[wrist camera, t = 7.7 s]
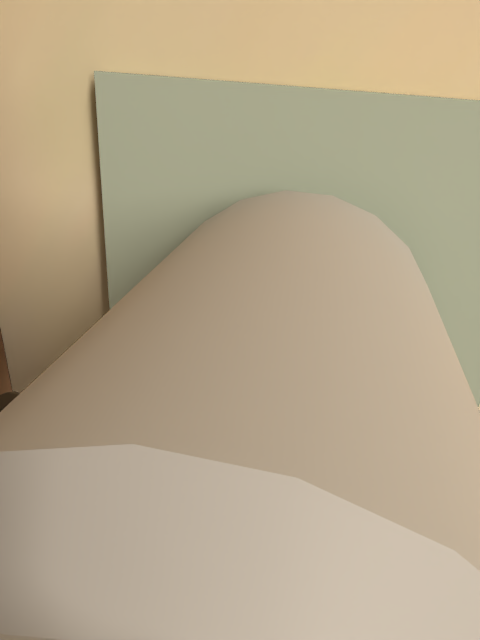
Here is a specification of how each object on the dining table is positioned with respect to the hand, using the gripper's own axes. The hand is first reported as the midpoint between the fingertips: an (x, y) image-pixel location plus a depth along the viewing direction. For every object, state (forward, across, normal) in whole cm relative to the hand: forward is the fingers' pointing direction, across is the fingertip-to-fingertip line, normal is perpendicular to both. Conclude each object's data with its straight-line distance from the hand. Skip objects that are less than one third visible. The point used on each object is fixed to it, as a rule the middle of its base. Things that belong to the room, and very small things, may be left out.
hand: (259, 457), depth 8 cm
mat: (+7, 0, 0) cm, 7 cm away
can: (+7, 0, 0) cm, 7 cm away
